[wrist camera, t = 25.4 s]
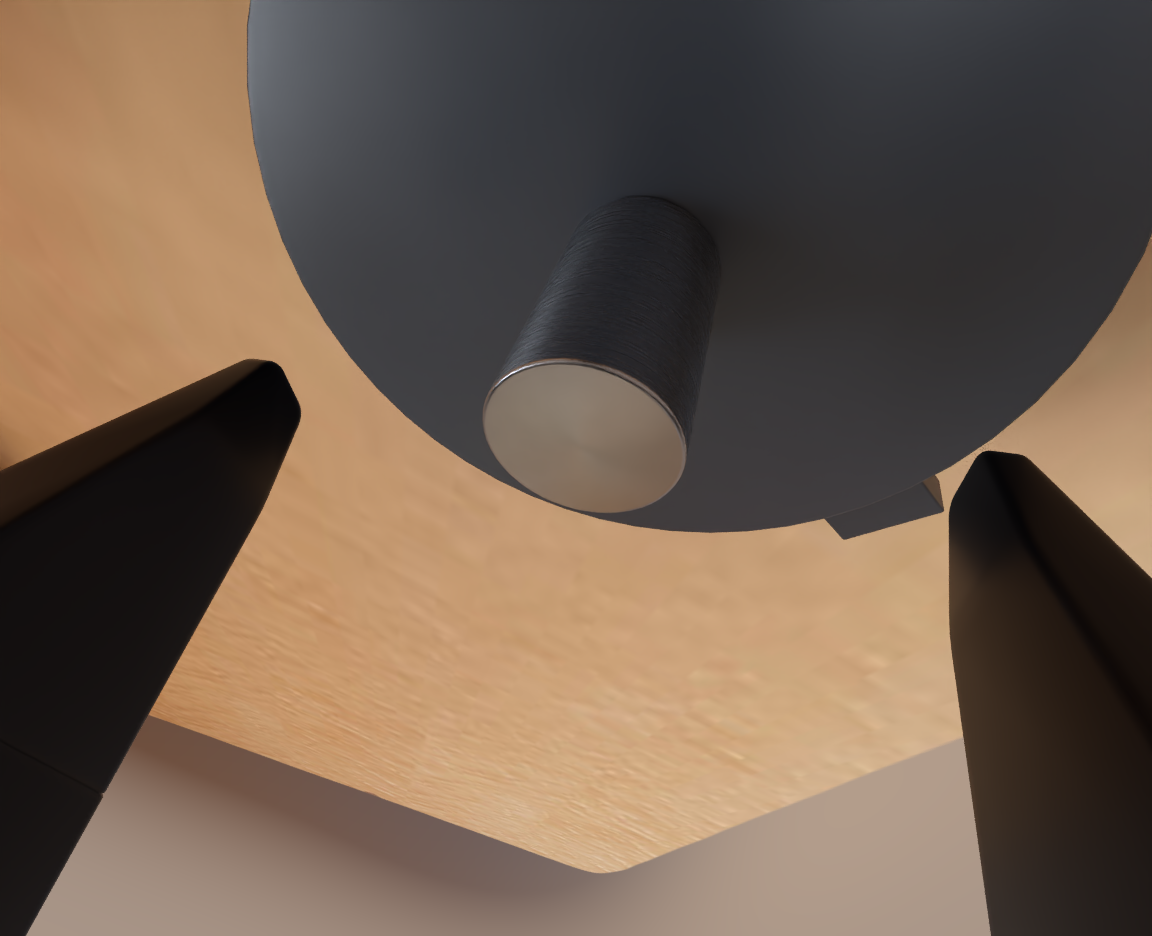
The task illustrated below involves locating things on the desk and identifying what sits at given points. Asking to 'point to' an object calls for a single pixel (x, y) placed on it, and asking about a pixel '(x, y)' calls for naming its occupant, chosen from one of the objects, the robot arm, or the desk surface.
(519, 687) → the desk surface
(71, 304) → the desk surface
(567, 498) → the lid
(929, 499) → the pot
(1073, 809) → the robot arm
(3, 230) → the desk surface
